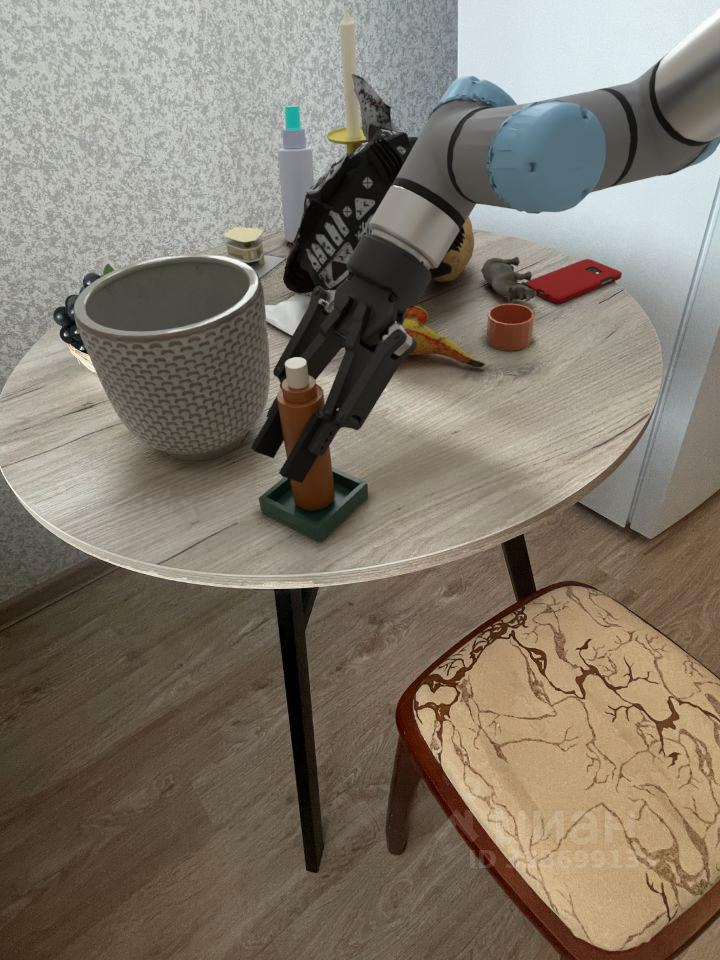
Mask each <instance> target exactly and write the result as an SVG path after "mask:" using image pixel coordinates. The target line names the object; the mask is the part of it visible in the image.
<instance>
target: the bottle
mask: <svg viewBox="0 0 720 960" xmlns="http://www.w3.org/2000/svg"><path fill="white" fill-rule="evenodd" d="M285 369H286V376H287V378H286V379H285V380H284V381H283V382H282V385H281V386H282V388H280V389H279V391H277V394H276V397H277V402H278V408H279V414H280V420H281V426H282V432H283V438H284V441H283V443H284V450H285V455H286V459H287V458H288V456H289V454H290V453H291V451H292V449H293V447H294V446H295V444H296V442H297V441H298V439H299V437H300V435H301V434H302V432H303V430H304V429H305V427H306V425H307V423H308V422H309V420H310V418H311V417H312V415H313V414H315V415H316V410H318V411H321V412H322V410H323V408H324V405H325V403H326V401H325V394H324V390H323V388H322V387H321V385H319V384H318V383H317V380H315V379H314V378H313V377H312V376H309V375H308V368H307V361H306V360H305V359H304V358H301V357H294V358H290V359H288V360H287V361H286V362H285ZM332 465H333V464H332V456H331V445H329V447H328V449H327V451H326V452H325V453H324V454H323V455H322V456H319V455H318V457H317V459H316V460H315V462H314V464H313V465H312V467H311V469H310V470H309V472H308V474H307V476H306V477H305V479H304V481H303V482H302V483H300V482H297V481H294V480H291V479H290V480H291V486H292V492H293V498H294V502H295V504H296V505H297V506H298V507H300V508H302V509H305V510H319V509H323V508H325V507H327V506H328V505H330V504H331V503H332V501H333V500H334V497H335V490H334V482H333V473H332V467H333V466H332Z"/></svg>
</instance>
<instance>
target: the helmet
mask: <svg viewBox="0 0 720 960" xmlns="http://www.w3.org/2000/svg"><path fill="white" fill-rule="evenodd" d="M352 79H353V83H354V92H355V94H356V96H357V99H358V101H359V111H360V118H361V126H362V131H363V134H364V136H365V138H366V139H367V141H368V142H366V143H363V144H362V146H360V147H359V148H358V149H356V150H355V151H353V153H350V155H349V154H348V153H347V152H346V153H345V154H344V155H342V156H341V157H340V158H339V160H338V161H337V162H336V161H335V162H333V163H332V164H331V166H330V168H328V169H327V170H326V171H325V172H324V173H323V174H322V175H321V176H320V177H318V179H317V180H315V181H314V184H313V185H312V186H311V187H310V188H309V189H308V190H307V191H306V193H307V194H306V196H305V201H304V213H303V215H302V219H301V224H300V227H299V228H298V231H297V234H296V237H295V239H294V241H293V243H292V247H291V249H290V251H289V253H288V255H287V257H286V262H285V266H284V271H283V277H282V281H283V283H284V286H285V287H286V289H288V290H289V291H290V292H293V293H295V294H309V293H312V292H313V290H314V288H315V287H317V286H320V287H322V288H323V289H325V290H336V289H337V288H338V287H339V286H340V285H341V284H342V283H343V282H344V281H345V280H346V279H347V277H348V275H349V271H348V269H347V262H348V260H349V258H350V257H351V255H352V253H353V251H354V250H355V248H356V246H357V244H358V243H359V241H360V239H361V237H362V236H363V235H366V234H367V233H369V234H371V233H372V231H371V230H370V228H369V222H370V221H371V219H372V217H373V216H374V214H375V212H376V210H377V209H378V207H379V205H380V204H381V202H382V200H383V199H384V197H385V195H386V194H387V192H388V190H389V188H390V187H391V186H392V184H393V182H394V181H395V179H396V177H397V175H398V174H399V172H400V170H401V168H402V166H403V165H404V163H405V161H406V159H407V157H408V156H409V154H410V152H411V150H412V148H413V146H414V145H415V143H416V141H417V139H418V137H417V136H409V135H408V134H407V132H406V131H399V129H398V128H397V127H396V125H395V124H394V122H393V119H392V116H391V115H392V114H391V110H392V108H391V106H390V105H389V104H387V103H386V102H385V101H384V100H383V98H382V97H381V96H380V95H379V94H378V92H377V91H376V90H375V89H374V88H373V87H372V86H371V85H370V84H369V83H368V82H367V81H366V80H365V78H364V77H362V76H360V75H358V74H357V75H354V74H352ZM463 234H465V232H464V228H463V226H462V228H461V230H460V231H459V233H458V234H457V236H456V238H455V239H454V241H453V243H452V244H451V246H450V248H449V249H448V251H447V252H449V251H450V250H454V251H458V252H460V250H459V248H458V247H461V244H460V243H462V244H464V243H463V239H465V238H464V236H463ZM461 248H462V247H461ZM451 270H452V266H451V265H450V264H448V263H445V262H442V261H441V263H440V264H439V266H438V268H433V269H431V268H430V269H429V271H430V272H431V278H436V277H440V276H443V275H446V274H450V273H451Z"/></svg>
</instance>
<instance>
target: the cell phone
mask: <svg viewBox="0 0 720 960" xmlns="http://www.w3.org/2000/svg"><path fill="white" fill-rule="evenodd" d="M622 274H623V273H622V272H621V271H620V270H618V269H616V268H613V267H610V266H608V265H606V264H603V263H601V262H598V261H596V260H594V259H590V258H586V259H582V260H579V261H576V262H574V263H571V264H568V265H565V266H563V267H561V268H558V269H555V270H553V271H550V272H548V273H545V274H543V275H540V276H537V277H534V278H531V280H530V281H528V280H526V281H524V282H525V283H527V287H528V288H530V289H533V290H534V291H535V292H536V296H538V297H540V298H543V299H544V300H547V301H549V302H551V303H553V304H557V305H559V304H562V303H565V302H567V301H570V300H573V299H575V298H577V297H580V296H583V295H584V294H585V295H586V294H587V293H590V292H592V291H595V290H597V289H599V288H602V287H604V286H607V285H609V284H611V283H615V282H616V281H619V280H620V279H621V278H622Z"/></svg>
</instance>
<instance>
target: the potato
mask: <svg viewBox="0 0 720 960" xmlns="http://www.w3.org/2000/svg"><path fill="white" fill-rule="evenodd" d="M463 228H464V232H465V234H463V236H464V238H465V239H463V243H464V244H462V243H460V244H461V247H462V248H461V247H458V248H459V250H460V252H458V251H454V250H450V251H449V252H447V253H446V254H445V256H444V258H443V259H442V262H445V263H448V264H450V265H451V266H452V270H451V273H450V274H446V275H443V276H440V277H436V278H432V279H431V280H433V281H437V282H442V283H444V282H451V281H454V280H456V279H457V278H458V277H459V276H460V275H461V273H462V272H463V271H464V270H465V268H466V267H467V266H468V264H469V262H470V260H471V259H472V257H473V253H474V247H475V236H474V232H473V231H474V230H473V224H472V221H471V218H470V216H468V218H467V220H466V221H465V223H464V224H463Z"/></svg>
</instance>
